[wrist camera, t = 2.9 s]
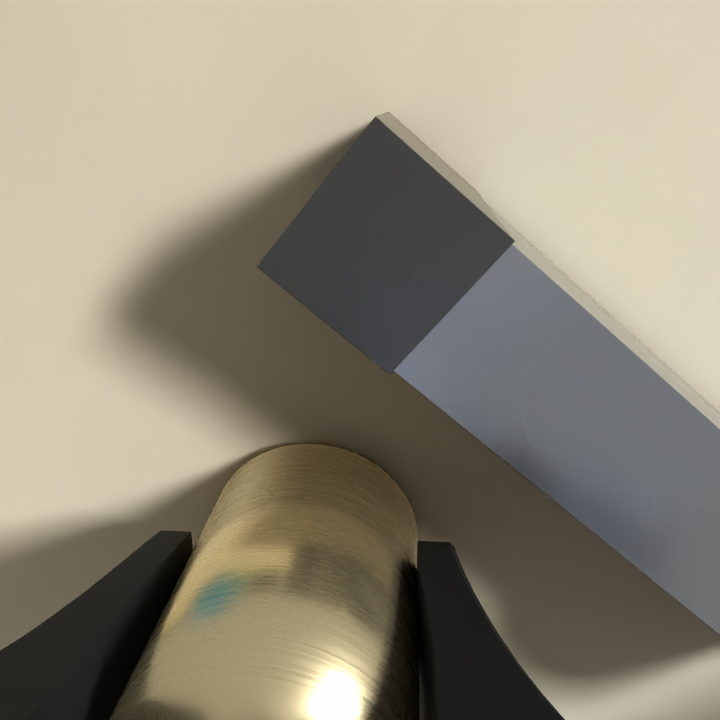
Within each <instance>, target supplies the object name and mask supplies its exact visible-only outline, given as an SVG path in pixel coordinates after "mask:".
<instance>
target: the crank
mask: <svg viewBox="0 0 720 720" xmlns="http://www.w3.org/2000/svg"><path fill="white" fill-rule="evenodd" d="M257 268H258V269H260V270H261V271H262V272H263V273H265V274H266V275H267V276H268V277H270V278H271V279H272V280H273V281H275V282H276V283H277V284H278V285H280V286H281V287H282V288H283V289H284V290H286V291H287V292H288V293H289V294H291V295H292V296H293V297H294V298H296V299H297V300H298V301H299V302H301V303H302V304H303V305H304V306H306V307H307V308H308V309H309V310H311V311H312V312H313V313H314V314H315V315H317V316H318V317H319V318H320V319H322V320H323V321H324V322H325V323H327V324H328V325H329V326H330V327H332V328H333V329H334V330H335V331H337V332H338V333H339V334H340V335H341V336H343V337H344V338H345V339H346V340H348V341H349V342H350V343H351V344H353V345H354V346H355V347H356V348H358V349H359V350H360V351H361V352H363V353H364V354H365V355H366V356H368V357H369V358H370V359H371V360H372V361H374V362H375V363H376V364H377V365H379V366H380V367H381V368H382V369H384V370H385V371H386V372H387V373H389V374H391V373H392V372H393V371H394V372H396V373H397V374H398V375H399V376H401V377H402V378H403V379H404V380H406V381H407V382H408V383H409V384H411V385H412V386H413V387H414V388H415V389H417V390H418V391H419V392H420V393H422V394H423V395H424V396H425V397H427V398H428V399H429V400H430V401H432V402H433V403H434V404H435V405H436V406H438V407H439V408H440V409H441V410H443V411H444V412H445V413H446V414H448V415H449V416H450V417H451V418H453V419H454V420H455V421H456V422H457V423H459V424H460V425H461V426H462V427H464V428H465V429H466V430H467V431H469V432H470V433H471V434H472V435H474V436H475V437H476V438H477V439H478V440H480V441H481V442H482V443H483V444H485V445H486V446H487V447H488V448H490V449H491V450H492V451H493V452H495V453H496V454H497V455H498V456H500V457H501V458H502V459H503V460H504V461H506V462H507V463H508V464H509V465H511V466H512V467H513V468H514V469H516V470H517V471H518V472H519V473H521V474H522V475H523V476H524V477H525V478H527V479H528V480H529V481H530V482H532V483H533V484H534V485H535V486H537V487H538V488H539V489H540V490H542V491H543V492H544V493H545V494H546V495H548V496H549V497H550V498H551V499H553V500H554V501H555V502H556V503H558V504H559V505H560V506H561V507H563V508H564V509H565V510H566V511H567V512H569V513H570V514H571V515H572V516H574V517H575V518H576V519H577V520H579V521H580V522H581V523H582V524H584V525H585V526H586V527H587V528H588V529H590V530H591V531H592V532H593V533H595V534H596V535H597V536H598V537H600V538H601V539H602V540H603V541H605V542H606V543H607V544H608V545H609V546H611V547H612V548H613V549H614V550H616V551H617V552H618V553H619V554H621V555H622V556H623V557H624V558H626V559H627V560H628V561H629V562H630V563H632V564H633V565H634V566H635V567H637V568H638V569H639V570H640V571H642V572H643V573H644V574H645V575H647V576H648V577H649V578H650V579H651V580H653V581H654V582H655V583H656V584H658V585H659V586H660V587H661V588H663V589H664V590H665V591H666V592H668V593H669V594H670V595H671V596H672V597H674V598H675V599H676V600H677V601H679V602H680V603H681V604H682V605H684V606H685V607H686V608H687V609H689V610H690V611H691V612H692V613H693V614H695V615H696V616H697V617H698V618H700V619H701V620H702V621H703V622H705V623H706V624H707V625H708V626H710V627H711V628H712V629H713V630H714V631H716V632H717V633H718V634H719V635H720V413H719V412H718V411H717V410H716V409H715V408H714V407H713V406H712V405H710V404H709V403H708V402H707V401H706V400H705V399H704V398H703V397H702V396H700V395H699V394H698V393H697V392H696V391H695V390H694V389H693V388H691V387H690V386H689V385H688V384H687V383H686V382H685V381H684V380H683V379H681V378H680V377H679V376H678V375H677V374H676V373H675V372H674V371H673V370H671V369H670V368H669V367H668V366H667V365H666V364H665V363H664V362H663V361H661V360H660V359H659V358H658V357H657V356H656V355H655V354H654V353H652V352H651V351H650V350H649V349H648V348H647V347H646V346H645V345H644V344H642V343H641V342H640V341H639V340H638V339H637V338H636V337H635V336H634V335H632V334H631V333H630V332H629V331H628V330H627V329H626V328H625V327H623V326H622V325H621V324H620V323H619V322H618V321H617V320H616V319H615V318H613V317H612V316H611V315H610V314H609V313H608V312H607V311H606V310H605V309H603V308H602V307H601V306H600V305H599V304H598V303H597V302H596V301H594V300H593V299H592V298H591V297H590V296H589V295H588V294H587V293H586V292H584V291H583V290H582V289H581V288H580V287H579V286H578V285H577V284H576V283H574V282H573V281H572V280H571V279H570V278H569V277H568V276H567V275H565V274H564V273H563V272H562V271H561V270H560V269H559V268H558V267H557V266H555V265H554V264H553V263H552V262H551V261H550V260H549V259H548V258H547V257H545V256H544V255H543V254H542V253H541V252H540V251H539V250H538V249H537V248H535V247H534V246H533V245H532V244H531V243H530V242H529V241H528V240H526V239H525V238H524V237H523V236H522V235H521V234H520V233H519V232H518V231H516V230H515V229H514V228H513V227H512V226H511V225H510V224H509V223H508V222H506V221H505V220H504V219H503V218H502V217H501V216H500V215H499V214H497V213H496V212H495V211H494V210H493V209H492V208H491V207H490V206H489V205H487V204H486V202H485V201H484V200H483V198H482V197H481V196H480V194H479V193H478V192H477V191H476V190H475V189H474V188H473V187H472V186H471V185H470V184H469V183H468V182H466V181H465V180H464V179H463V178H462V177H461V176H460V175H459V174H458V173H456V172H455V171H454V170H453V169H452V168H451V167H450V166H449V165H448V164H446V163H445V162H444V161H443V160H442V159H441V158H440V157H439V156H438V155H436V154H435V153H434V152H433V151H432V150H431V149H430V148H429V147H428V146H426V145H425V144H424V143H423V142H422V141H421V140H420V139H419V138H417V137H416V136H415V135H414V134H413V133H412V132H411V131H410V130H409V129H407V128H406V127H405V126H404V125H403V124H402V123H401V122H400V121H399V120H397V119H396V118H395V117H394V116H393V115H392V114H391V113H390V112H387V113H384V114H381V115H378V116H375V118H374V119H373V120H372V122H371V123H370V124H369V125H368V127H367V128H366V129H365V130H364V132H363V133H362V134H361V136H360V137H359V138H358V139H357V141H356V142H355V143H354V144H353V146H352V147H351V148H350V149H349V151H348V152H347V153H346V155H345V156H344V157H343V158H342V160H341V161H340V162H339V163H338V165H337V166H336V167H335V168H334V170H333V171H332V172H331V174H330V175H329V176H328V177H327V179H326V180H325V181H324V182H323V184H322V185H321V186H320V187H319V189H318V190H317V191H316V193H315V194H314V195H313V196H312V198H311V199H310V200H309V201H308V203H307V204H306V205H305V207H304V208H303V209H302V210H301V212H300V213H299V214H298V215H297V217H296V218H295V219H294V220H293V222H292V223H291V224H290V226H289V227H288V228H287V229H286V231H285V232H284V233H283V234H282V236H281V237H280V238H279V239H278V241H277V242H276V243H275V245H274V246H273V247H272V248H271V250H270V251H269V252H268V253H267V255H266V256H265V257H264V259H263V260H262V261H261V262H260V264H259V265H258V266H257Z"/></svg>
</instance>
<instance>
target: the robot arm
mask: <svg viewBox="0 0 720 720" xmlns="http://www.w3.org/2000/svg"><path fill="white" fill-rule="evenodd" d="M192 551H193V546H192V538H191V532H180V531H160V532H159V533H157V534H156V535H155V536H153V537H152V538H151V539H150V540H148V541H147V542H146V543H145V544H143V545H142V546H141V547H140V548H139V549H137V550H136V551H135V552H134V553H132V554H131V555H130V556H129V557H128V558H126V559H125V560H124V561H123V562H122V563H120V564H119V565H118V566H117V567H116V568H114V569H113V570H112V571H111V572H109V573H108V574H107V575H106V576H104V577H103V578H102V579H101V580H99V581H98V582H97V583H96V584H94V585H93V586H92V587H91V588H89V589H88V590H87V591H86V592H84V593H83V594H82V595H80V596H79V597H77V598H76V599H75V600H73V601H72V602H71V603H69V604H68V605H67V606H65V607H64V608H62V609H61V610H60V611H58V612H57V613H56V614H54V615H53V616H52V617H50V618H49V619H47V620H46V621H45V622H43V623H42V624H41V625H39V626H38V627H36V628H35V629H33V630H32V631H30V632H29V633H27V634H26V635H24V636H23V637H21V638H20V639H18V640H17V641H15V642H14V643H12V644H10V645H9V646H7V647H6V648H4V649H2V650H1V651H0V720H110V718H111V716H112V714H113V712H114V710H115V708H116V706H117V704H118V702H119V700H120V698H121V696H122V694H123V692H124V690H125V688H126V685H127V683H128V681H129V679H130V677H131V675H132V673H133V671H134V669H135V667H136V665H137V663H138V661H139V659H140V657H141V655H142V653H143V651H144V649H145V647H146V645H147V643H148V641H149V639H150V637H151V635H152V633H153V631H154V629H155V626H156V624H157V622H158V620H159V618H160V616H161V614H162V612H163V610H164V608H165V606H166V604H167V602H168V600H169V598H170V596H171V594H172V592H173V590H174V588H175V586H176V584H177V582H178V580H179V578H180V576H181V574H182V572H183V570H184V567H185V565H186V563H187V561H188V559H189V557H190V555H191V553H192ZM417 611H418V634H419V707H420V720H565V719H564V718H563V717H562V716H561V715H560V714H559V713H558V711H557V710H556V709H555V708H554V707H553V706H552V704H551V703H550V702H549V701H548V700H547V699H546V698H545V696H544V695H543V694H542V693H541V691H540V690H539V689H538V688H537V686H536V685H535V684H534V683H533V681H532V680H531V679H530V678H529V676H528V675H527V674H526V673H525V671H524V670H523V669H522V667H521V666H520V664H519V663H518V662H517V660H516V659H515V658H514V656H513V655H512V653H511V652H510V650H509V649H508V647H507V646H506V644H505V643H504V641H503V640H502V638H501V637H500V635H499V634H498V632H497V631H496V629H495V627H494V626H493V624H492V623H491V621H490V619H489V618H488V616H487V614H486V612H485V611H484V609H483V607H482V605H481V604H480V602H479V600H478V598H477V597H476V595H475V593H474V591H473V589H472V587H471V585H470V583H469V581H468V579H467V577H466V575H465V573H464V570H463V568H462V566H461V564H460V561H459V559H458V556H457V553H456V550H455V547H454V546H453V545H452V544H451V543H450V542H430V541H418V542H417Z"/></svg>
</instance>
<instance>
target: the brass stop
mask: <svg viewBox="0 0 720 720" xmlns="http://www.w3.org/2000/svg"><path fill="white" fill-rule="evenodd" d="M110 720H420V707H419V634H418V611H417V525H416V520H415V516H414V513H413V510H412V507H411V505H410V503H409V501H408V499H407V497H406V495H405V494H404V492H403V491H402V489H401V488H400V487H399V485H398V484H397V483H396V482H395V481H394V480H393V479H392V478H391V477H390V476H389V474H387V473H386V472H385V471H384V470H383V469H381V468H380V467H379V466H378V465H376V464H374V463H373V462H371V461H370V460H368V459H366V458H364V457H362V456H360V455H358V454H356V453H354V452H351V451H348V450H345V449H342V448H338V447H334V446H329V445H321V444H295V445H288V446H283V447H279V448H276V449H272V450H269V451H267V452H265V453H262V454H260V455H258V456H256V457H255V458H253V459H251V460H250V461H248V462H247V463H245V464H244V465H243V466H242V467H240V468H239V469H238V470H237V471H236V472H235V473H234V474H233V476H232V477H231V478H230V479H229V481H228V482H227V483H226V485H225V486H224V488H223V490H222V492H221V494H220V496H219V498H218V500H217V502H216V504H215V506H214V508H213V510H212V513H211V515H210V517H209V519H208V521H207V523H206V525H205V527H204V529H203V531H202V533H201V535H200V537H199V539H198V541H197V543H196V545H195V547H194V549H193V551H192V553H191V555H190V557H189V559H188V561H187V563H186V565H185V567H184V570H183V572H182V574H181V576H180V578H179V580H178V582H177V584H176V586H175V588H174V590H173V592H172V594H171V596H170V598H169V600H168V602H167V604H166V606H165V608H164V610H163V612H162V614H161V616H160V618H159V620H158V622H157V624H156V626H155V629H154V631H153V633H152V635H151V637H150V639H149V641H148V643H147V645H146V647H145V649H144V651H143V653H142V655H141V657H140V659H139V661H138V663H137V665H136V667H135V669H134V671H133V673H132V675H131V677H130V679H129V681H128V683H127V685H126V688H125V690H124V692H123V694H122V696H121V698H120V700H119V702H118V704H117V706H116V708H115V710H114V712H113V714H112V716H111V718H110Z"/></svg>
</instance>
